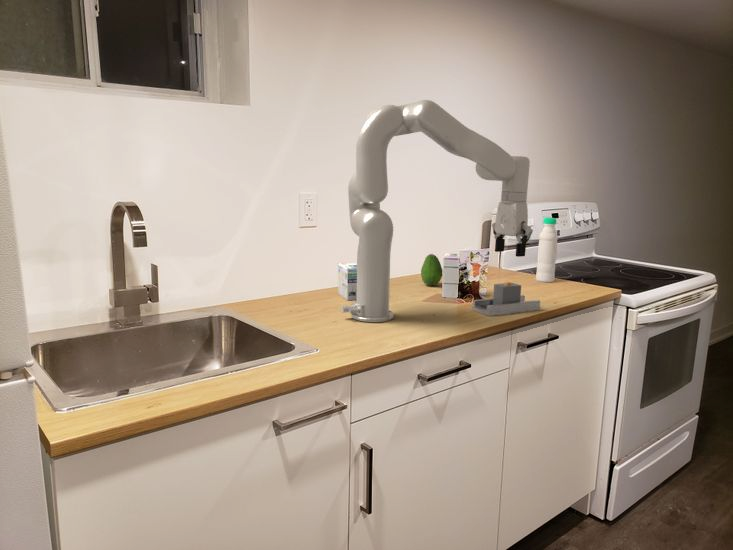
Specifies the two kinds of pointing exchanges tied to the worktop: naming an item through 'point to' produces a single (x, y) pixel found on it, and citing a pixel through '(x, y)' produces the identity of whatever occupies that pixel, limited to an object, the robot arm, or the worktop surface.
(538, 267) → the milk bottle
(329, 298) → the worktop surface
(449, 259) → the syrup box
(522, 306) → the rail
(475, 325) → the worktop surface
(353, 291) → the light bulb box
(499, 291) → the block
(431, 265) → the avocado
